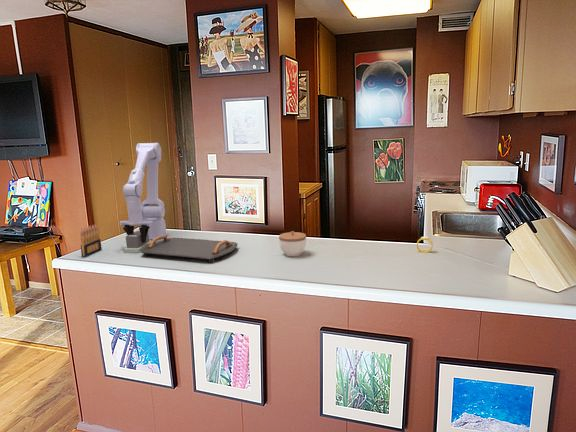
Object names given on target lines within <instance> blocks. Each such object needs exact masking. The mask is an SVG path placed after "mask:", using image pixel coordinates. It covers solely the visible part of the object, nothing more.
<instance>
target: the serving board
mask: <svg viewBox="0 0 576 432" xmlns="http://www.w3.org/2000/svg"><path fill="white" fill-rule="evenodd" d="M150 241H151V243H150V245H148V246H146V247H145V248H144V249H143V250H142V251H141V252H140V253H141V254H142V255H143V257H149V254H150V255H158V256H159V255H160V256H171V257H180V258H192V259H193V258H194V259H201V260H202V259H203V260H207V261H208V263H210V264H212V263H215V259H217V258H219V257H222V256H225V255H227V254H230V253H231V252H233V251H235V250H236V249H237V247H238V243H237V242H235V241H229V240H212V239H211V240H210V239H197V238H186V237H167V235H166V236H158V237H156V238H154V239H151V240H150Z"/></svg>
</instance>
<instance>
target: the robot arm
mask: <svg viewBox="0 0 576 432" xmlns="http://www.w3.org/2000/svg"><path fill="white" fill-rule="evenodd" d="M135 153H136V156H137V158H136V162H135V167H134V169H131V171H130V174H129V178H128V181H127V182H126V184H124V185H123V187H122V194H123V197H124V200H125V202H126V206H127V207H126V208H127V216H128V220H121V221H119V227H123V229H122V230H123V231H124V232H125V233H126V236H128V235H130V234H132V233H134V231H135V227H138V229H139V230H138V231H140V233H141V240H142V243H144V242H146V237H147V233H149V240H153V239H154V238H156V237H158V236H166V237H167V236H168V235H169V233H167V225H166V220H165V219H164V217H165V214H166V209H165V203H164V201H162V200H161V198H159V163H160V162H161V161H162V147H161V145H160V143H159V142H143V143H140V142H138V143H137V144H136V146H135ZM146 166H147V167H146ZM145 168H146V174H147V175H146V174H145V172H144V171H145ZM145 176H146V198H145V199H144V200H143V201H142V199H141V197H142V194H143V187H144V186H143V182H144V179H145Z"/></svg>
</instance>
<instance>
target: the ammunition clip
mask: <svg viewBox="0 0 576 432" xmlns="http://www.w3.org/2000/svg"><path fill="white" fill-rule="evenodd" d="M80 244H81V245H80V252H81V258H88V257H90V256H92V255H94V254H96V253H98V252H100V251H102V250H103V249H102V248H103V247H102V242H101V238H100V235H99V228H98V225H97V224H96V223H94V224H92V225H89V226H86V227H83V228H80Z"/></svg>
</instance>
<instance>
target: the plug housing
mask: <svg viewBox="0 0 576 432" xmlns="http://www.w3.org/2000/svg"><path fill="white" fill-rule="evenodd" d="M149 241H150V239H149V233H147V237H146V242H144V243H142V240H141V233H140V230H137V231H135V232H134V233H132V234H130V235H126V236H125V244H126V247H127V248H139V247H141V246H143V245H145V244H146V243H148V242H149Z"/></svg>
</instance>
